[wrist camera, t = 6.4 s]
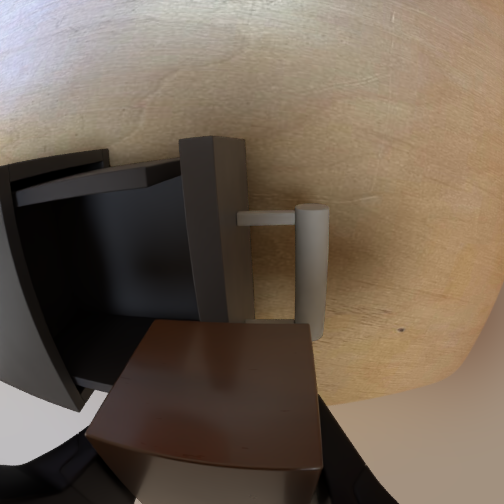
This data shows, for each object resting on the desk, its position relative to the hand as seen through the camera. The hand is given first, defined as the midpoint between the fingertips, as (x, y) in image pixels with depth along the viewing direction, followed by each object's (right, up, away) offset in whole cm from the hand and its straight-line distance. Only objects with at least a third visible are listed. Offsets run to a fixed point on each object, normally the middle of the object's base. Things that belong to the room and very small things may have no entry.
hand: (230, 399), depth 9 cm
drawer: (-5, +5, +11) cm, 13 cm away
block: (0, 0, +1) cm, 1 cm away
